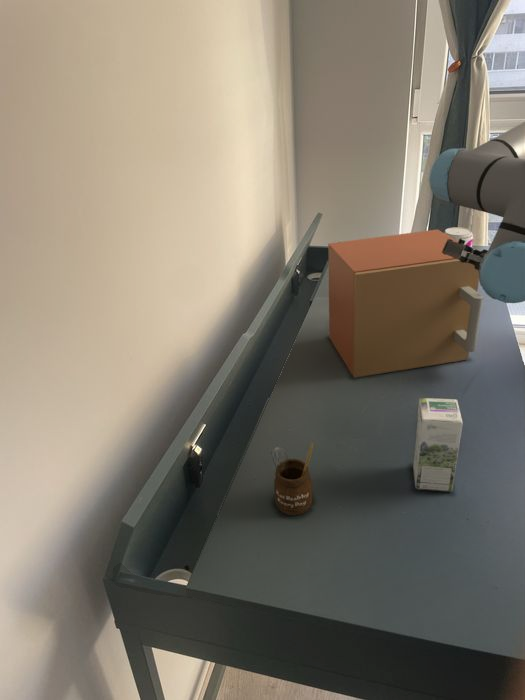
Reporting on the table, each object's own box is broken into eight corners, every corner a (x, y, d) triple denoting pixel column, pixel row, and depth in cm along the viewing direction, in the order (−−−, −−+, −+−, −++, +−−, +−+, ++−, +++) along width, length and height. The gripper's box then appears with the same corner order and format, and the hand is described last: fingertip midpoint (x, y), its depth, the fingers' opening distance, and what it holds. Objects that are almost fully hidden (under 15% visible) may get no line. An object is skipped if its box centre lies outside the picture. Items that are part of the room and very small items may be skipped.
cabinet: (464, 357, 117) (479, 254, 105) (352, 375, 114) (354, 271, 102) (429, 322, 133) (437, 229, 121) (329, 337, 130) (328, 243, 118)
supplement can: (472, 279, 154) (479, 229, 146) (459, 289, 149) (465, 237, 141) (446, 273, 159) (451, 225, 151) (432, 282, 154) (437, 232, 146)
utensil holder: (276, 488, 87) (272, 431, 81) (315, 489, 86) (313, 431, 80) (273, 516, 82) (268, 457, 76) (314, 517, 81) (312, 457, 75)
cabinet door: (482, 373, 111) (499, 267, 99) (363, 393, 108) (366, 286, 96) (465, 357, 117) (479, 255, 105) (352, 375, 114) (354, 272, 102)
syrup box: (448, 468, 88) (457, 396, 81) (452, 494, 83) (463, 420, 76) (412, 465, 89) (419, 395, 82) (415, 491, 84) (422, 418, 77)
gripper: (415, 262, 82) (426, 260, 101) (581, 327, 75) (558, 311, 94) (436, 215, 79) (443, 222, 99) (609, 278, 73) (580, 272, 92)
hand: (499, 265), depth 97 cm, fingers open, 13 cm apart
